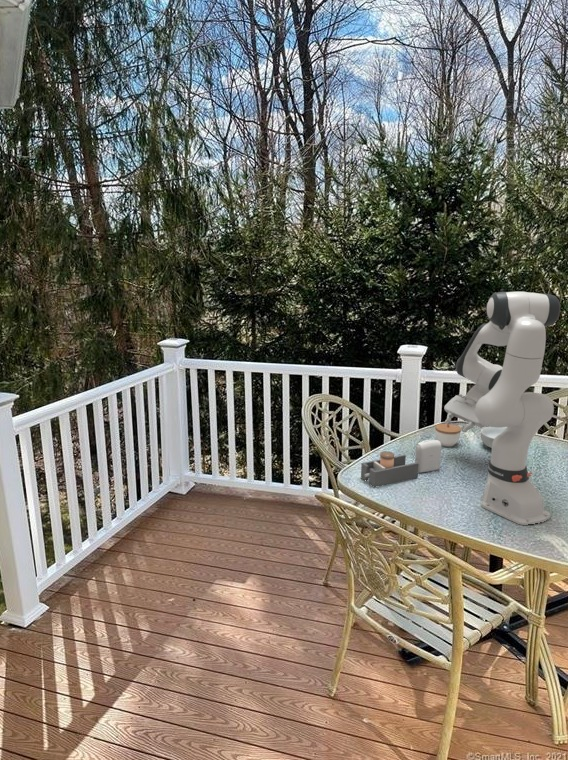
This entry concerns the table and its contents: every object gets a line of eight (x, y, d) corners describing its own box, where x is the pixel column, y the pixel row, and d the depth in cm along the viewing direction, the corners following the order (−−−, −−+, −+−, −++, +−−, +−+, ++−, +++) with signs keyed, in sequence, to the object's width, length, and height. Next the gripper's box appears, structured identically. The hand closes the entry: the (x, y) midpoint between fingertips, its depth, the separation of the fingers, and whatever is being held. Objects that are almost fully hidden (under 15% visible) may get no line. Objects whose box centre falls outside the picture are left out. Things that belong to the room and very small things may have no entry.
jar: (395, 480, 200) (397, 455, 198) (384, 482, 198) (385, 457, 196) (387, 474, 205) (389, 450, 202) (376, 477, 203) (377, 452, 200)
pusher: (384, 482, 198) (385, 467, 196) (369, 486, 195) (370, 470, 194) (375, 475, 203) (375, 461, 202) (360, 479, 201) (361, 464, 199)
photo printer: (418, 473, 206) (420, 443, 202) (412, 469, 210) (414, 439, 206) (441, 470, 209) (444, 440, 206) (435, 465, 213) (437, 436, 210)
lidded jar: (434, 447, 231) (436, 427, 229) (433, 438, 241) (435, 419, 239) (460, 449, 229) (462, 429, 226) (458, 440, 239) (460, 420, 236)
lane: (417, 477, 202) (418, 463, 201) (374, 487, 195) (374, 472, 193) (403, 468, 210) (404, 454, 209) (360, 477, 202) (361, 463, 201)
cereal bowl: (471, 444, 235) (472, 429, 233) (499, 438, 241) (500, 423, 240) (501, 458, 220) (502, 442, 218) (530, 451, 227) (532, 436, 225)
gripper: (454, 388, 219) (433, 414, 218) (491, 403, 201) (469, 431, 200) (461, 397, 222) (440, 423, 221) (499, 412, 204) (477, 440, 203)
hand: (454, 427), depth 210 cm, fingers open, 8 cm apart
